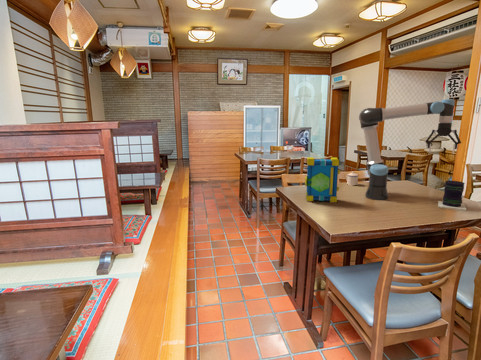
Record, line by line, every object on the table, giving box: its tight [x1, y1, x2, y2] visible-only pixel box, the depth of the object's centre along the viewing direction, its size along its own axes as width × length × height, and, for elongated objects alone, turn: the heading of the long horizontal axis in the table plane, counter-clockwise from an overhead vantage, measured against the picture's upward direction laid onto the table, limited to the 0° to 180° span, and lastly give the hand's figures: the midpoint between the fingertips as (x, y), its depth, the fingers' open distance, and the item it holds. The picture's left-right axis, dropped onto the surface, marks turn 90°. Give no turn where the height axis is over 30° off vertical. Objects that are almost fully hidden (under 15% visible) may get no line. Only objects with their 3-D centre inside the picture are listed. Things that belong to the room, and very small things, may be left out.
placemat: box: [437, 200, 467, 212], centre depth 180 cm, size 14×14×1 cm
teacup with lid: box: [345, 171, 359, 186], centre depth 245 cm, size 12×9×12 cm
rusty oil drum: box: [442, 180, 465, 207], centre depth 179 cm, size 10×10×15 cm
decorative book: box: [304, 156, 341, 203], centre depth 195 cm, size 14×23×30 cm, turn 78°
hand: (441, 153), depth 196 cm, fingers open, 13 cm apart
